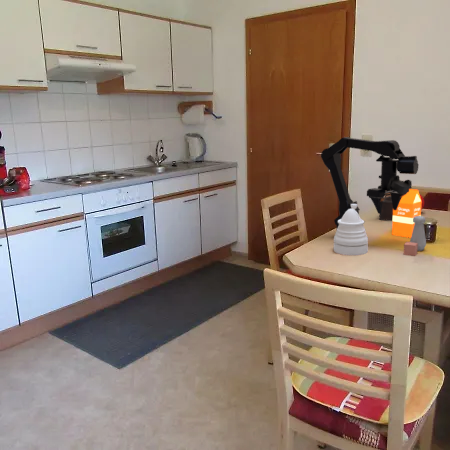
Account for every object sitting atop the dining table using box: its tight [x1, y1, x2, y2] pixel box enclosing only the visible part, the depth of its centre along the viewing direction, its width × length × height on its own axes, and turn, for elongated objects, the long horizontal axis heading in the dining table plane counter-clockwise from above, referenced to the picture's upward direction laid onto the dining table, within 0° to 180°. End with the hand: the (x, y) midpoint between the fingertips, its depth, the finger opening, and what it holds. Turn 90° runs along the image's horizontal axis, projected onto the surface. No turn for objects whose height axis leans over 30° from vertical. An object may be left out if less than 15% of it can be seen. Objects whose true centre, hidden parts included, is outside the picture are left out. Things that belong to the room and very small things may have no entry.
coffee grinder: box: [377, 184, 393, 222], centre depth 221 cm, size 16×11×18 cm
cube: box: [403, 241, 418, 257], centre depth 168 cm, size 4×4×4 cm
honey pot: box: [333, 203, 369, 256], centre depth 174 cm, size 13×13×18 cm
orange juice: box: [391, 188, 422, 239], centre depth 192 cm, size 8×9×20 cm
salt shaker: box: [409, 215, 427, 252], centre depth 172 cm, size 6×6×13 cm
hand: (387, 211), depth 180 cm, fingers open, 9 cm apart
